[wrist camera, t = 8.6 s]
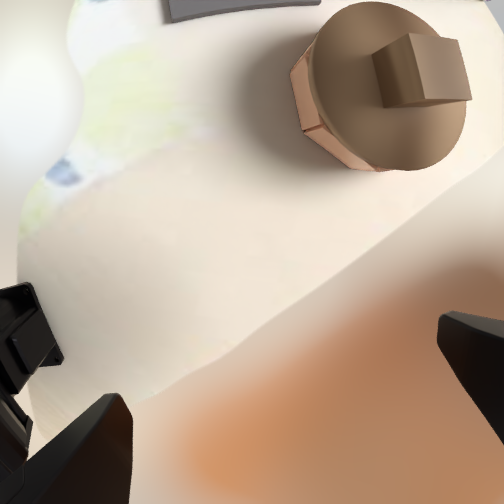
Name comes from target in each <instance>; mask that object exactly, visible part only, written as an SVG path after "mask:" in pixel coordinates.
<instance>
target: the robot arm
mask: <svg viewBox="0 0 504 504" xmlns="http://www.w3.org/2000/svg"><path fill="white" fill-rule="evenodd" d="M26 288H27V289H28V292H27V291H26ZM437 344H438V346H439V348H440V350H441V352H442V353H443V355H444V356H445V358H446V360H447V361H448V363H449V365H450V366H451V368H452V370H453V371H454V373H455V375H456V377H457V378H458V380H459V381H460V383H461V384H462V386H463V387H464V389H465V390H466V392H467V393H468V394H469V396H470V397H471V398H472V400H473V401H474V403H475V404H476V405H477V407H478V408H479V410H480V411H481V412H482V414H483V415H484V417H485V418H486V420H487V421H488V422H489V424H490V425H491V427H492V428H493V430H494V431H495V433H496V434H497V436H498V437H499V438H500V440H501V441H502V443H503V445H504V321H502V320H497V319H491V318H487V317H481V316H477V315H472V314H467V313H462V312H457V311H449V312H446V313H444V314H442V315H441V316H440V317H439V321H438V332H437ZM56 357H57V358H58V359H57V358H56ZM63 361H64V357H63V355H62V353H61V351H60V348H59V346H58V344H57V342H56V340H55V338H54V336H53V334H52V331H51V329H50V327H49V325H48V322H47V320H46V318H45V315H44V313H43V311H42V308H41V306H40V303H39V301H38V298H37V296H36V293H35V291H34V288H33V286H32V285H31V284H30V283H28V282H25V283H22V284H18V285H14V286H11V287H7V288H3V289H0V504H129V494H130V485H131V476H132V462H133V418H132V415H131V413H130V411H129V409H128V407H127V406H126V404H125V402H124V400H123V398H122V397H121V395H120V394H118V393H109V394H104V395H103V396H102V397H101V398H100V399H98V400H97V401H96V402H95V403H94V404H93V405H91V406H90V407H89V408H88V409H87V410H86V411H85V412H83V413H82V414H81V415H80V416H79V417H78V418H76V419H75V420H74V421H73V422H72V423H71V424H70V425H68V426H67V427H66V428H65V429H64V430H63V431H61V432H60V433H59V434H58V435H57V436H56V437H54V438H53V439H52V440H51V441H50V442H49V443H47V444H46V445H45V446H44V447H43V448H42V449H41V450H39V451H38V452H37V453H36V454H35V455H34V456H32V457H31V458H30V459H29V460H28V461H27V457H28V448H29V442H30V437H31V431H32V426H33V421H32V420H31V419H30V417H29V416H28V415H26V414H25V413H24V411H23V410H22V409H21V407H20V406H19V405H18V403H17V402H16V401H15V399H14V396H15V395H16V394H19V392H20V391H21V389H22V388H23V386H24V385H25V384H26V382H27V381H28V379H29V378H30V376H31V375H33V374H34V373H35V371H36V370H37V369H38V367H46V366H56V365H61V364H62V362H63Z"/></svg>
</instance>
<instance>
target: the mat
mask: <svg viewBox="0 0 504 504" xmlns="http://www.w3.org/2000/svg"><path fill="white" fill-rule="evenodd" d="M320 3H321V0H169V6H170V12H171V17H172V21H173V23H176V22H180V21H184V20H189V19H194V18H199V17H204V16H209V15H215V14H221V13H227V12H234V11H241V10H249V9H259V8H269V7H282V6H302V5H319V4H320Z"/></svg>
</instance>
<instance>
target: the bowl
mask: <svg viewBox="0 0 504 504" xmlns="http://www.w3.org/2000/svg"><path fill="white" fill-rule="evenodd" d="M312 44H313V42H312V43H311V45H310V46H309V47H308V48H307V50H306V51H305V52H304V54H303V55H302V56H301V57H300V59H299V60H298V61H297V63H296V64H295V65H294V67H293V68H292V69H291V73H290V78H291V82H292V87H293V91H294V96H295V100H296V105H297V110H298V114H299V119H300V124H301V129H302V130H306V131H305V132H304V134H305V135H307V136H308V137H309V138H311V139H312V140H313V141H315V142H316V143H318V144H319V145H320V146H322V147H323V148H324V149H326V150H327V151H328V152H329V153H331V154H332V155H333V156H335V157H336V158H337V159H339V160H340V161H341V162H342V163H344V164H345V165H346V166H348V167H349V168H352V169H356V170H366V171H375V172H383V171H389V170H394V169H386V168H382V167H378V166H375V165H373V164H370V163H368V162H366V161H364V160H362V159H360V158H358V157H357V156H356V155H354V154H353V153H351V152H350V151H349V150H347V149H346V148H345V147H344V146H343V145H342V144H341V143H340V142H339V141H338V140H337V139H336V138H335V137H334V136H333V135H332V133H331V132H330V131H329V129H328V128H327V126H326V125H325V124H324V122H323V120H322V118H321V116H320V115H319V113H318V111H317V108H316V106H315V104H314V101H313V98H312V95H311V91H310V87H309V80H308V59H309V53H310V50H311V46H312Z"/></svg>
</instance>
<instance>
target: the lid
mask: <svg viewBox="0 0 504 504" xmlns="http://www.w3.org/2000/svg"><path fill="white" fill-rule="evenodd" d="M308 80H309V87H310V91H311V95H312V98H313V101H314V104H315V106H316V108H317V111H318V113H319V115H320V116H321V118H322V120H323V122H324V124H325V125H326V126H327V128H328V129H329V131H330V132H331V133H332V135H333V136H334V137H335V138H336V139H337V140H338V141H339V142H340V143H341V144H342V145H343V146H344V147H345V148H346V149H347V150H349V151H350V152H351V153H353V154H354V155H356V156H357V157H358V158H360V159H362V160H364V161H366V162H368V163H370V164H373V165H375V166H378V167H382V168H386V169H394V170H405V171H411V170H420V169H424V168H427V167H430V166H432V165H434V164H436V163H438V162H439V161H441V160H442V159H443V158H444V157H446V156H447V155H448V154H449V153H450V151H451V150H452V149H453V148H454V146H455V144H456V143H457V141H458V139H459V137H460V135H461V132H462V129H463V126H464V122H465V116H466V101H468V100H472V96H471V91H470V86H469V82H468V77H467V73H466V69H465V65H464V61H463V58H462V54H461V51H460V47H459V44H458V40H455V39H450V38H444V37H440V36H439V35H438V34H437V32H436V31H435V30H434V29H433V28H432V27H430V26H429V25H428V24H427V23H426V22H425V21H423V20H422V19H421V18H419V17H418V16H416V15H414V14H413V13H411V12H409V11H407V10H405V9H403V8H400V7H398V6H395V5H392V4H388V3H382V2H361V3H356V4H353V5H349V6H347V7H345V8H343V9H341V10H340V11H338V12H337V13H335V14H334V15H333V16H332V17H331V18H330V19H329V20H328V21H327V22H326V23H325V25H324V26H323V27H322V28H321V29H320V31H319V32H318V34H317V35H316V37H315V39H314V41H313V44H312V46H311V50H310V53H309V59H308Z"/></svg>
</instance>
